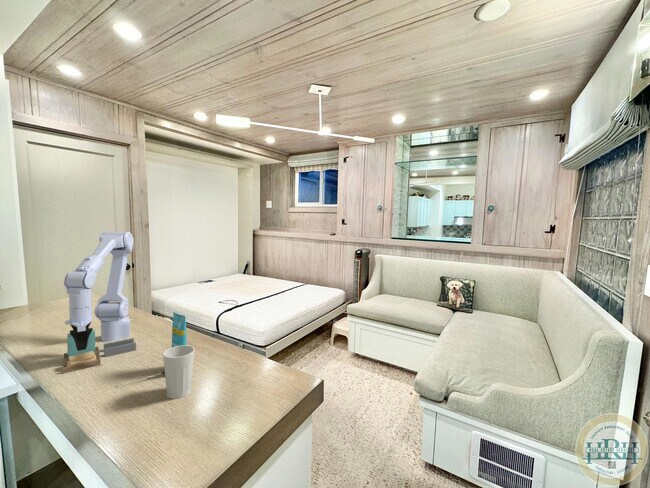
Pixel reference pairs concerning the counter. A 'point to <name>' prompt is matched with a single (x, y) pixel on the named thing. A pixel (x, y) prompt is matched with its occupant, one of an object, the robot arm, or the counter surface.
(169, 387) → the cup
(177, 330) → the tube
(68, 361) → the offcut low
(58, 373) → the counter surface
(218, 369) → the counter surface
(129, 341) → the holder
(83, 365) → the rack
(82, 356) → the offcut top
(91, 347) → the teal block
